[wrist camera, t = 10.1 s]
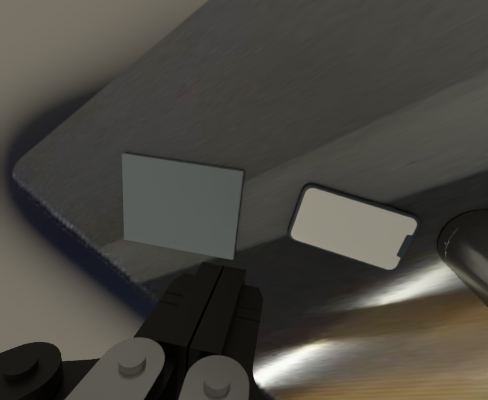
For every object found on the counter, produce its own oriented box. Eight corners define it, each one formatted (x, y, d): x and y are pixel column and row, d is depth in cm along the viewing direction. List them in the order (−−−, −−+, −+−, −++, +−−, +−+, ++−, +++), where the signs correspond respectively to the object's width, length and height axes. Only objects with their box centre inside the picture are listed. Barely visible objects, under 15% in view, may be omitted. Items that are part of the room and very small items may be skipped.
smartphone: (285, 235, 42) (391, 269, 41) (284, 239, 41) (395, 275, 40) (304, 179, 40) (419, 214, 39) (305, 181, 38) (424, 218, 37)
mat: (244, 170, 40) (243, 171, 39) (234, 256, 45) (233, 259, 44) (125, 152, 43) (121, 153, 42) (127, 236, 47) (124, 239, 46)
